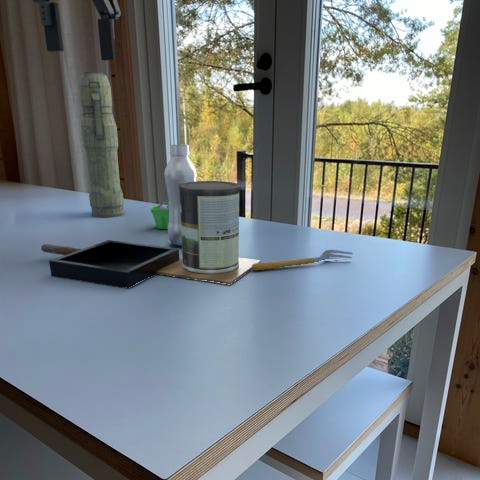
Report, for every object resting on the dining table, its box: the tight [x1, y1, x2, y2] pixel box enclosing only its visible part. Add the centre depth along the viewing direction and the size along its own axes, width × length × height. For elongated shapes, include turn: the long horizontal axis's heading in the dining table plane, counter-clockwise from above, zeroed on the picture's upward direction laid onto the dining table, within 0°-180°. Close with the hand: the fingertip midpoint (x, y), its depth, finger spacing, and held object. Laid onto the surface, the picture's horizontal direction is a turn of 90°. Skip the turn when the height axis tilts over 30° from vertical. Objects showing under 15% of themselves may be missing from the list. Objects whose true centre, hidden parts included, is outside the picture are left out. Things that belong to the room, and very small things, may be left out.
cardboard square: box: [156, 257, 262, 284], centre depth 85 cm, size 14×14×1 cm
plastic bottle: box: [163, 144, 197, 247], centre depth 97 cm, size 6×7×20 cm
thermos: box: [78, 71, 125, 218], centre depth 125 cm, size 9×12×35 cm
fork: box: [251, 248, 354, 272], centre depth 87 cm, size 2×2×20 cm
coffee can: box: [179, 180, 241, 274], centre depth 82 cm, size 10×10×14 cm
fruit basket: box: [149, 192, 169, 230], centre depth 115 cm, size 11×9×11 cm
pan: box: [40, 239, 180, 289], centre depth 86 cm, size 25×16×3 cm, turn 67°
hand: (83, 56), depth 82 cm, fingers open, 13 cm apart
